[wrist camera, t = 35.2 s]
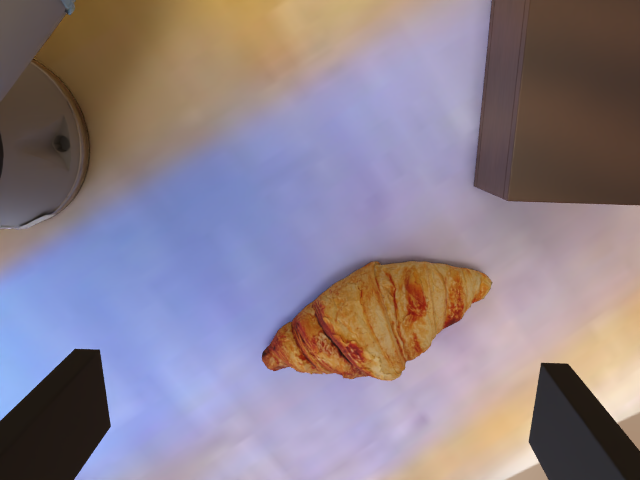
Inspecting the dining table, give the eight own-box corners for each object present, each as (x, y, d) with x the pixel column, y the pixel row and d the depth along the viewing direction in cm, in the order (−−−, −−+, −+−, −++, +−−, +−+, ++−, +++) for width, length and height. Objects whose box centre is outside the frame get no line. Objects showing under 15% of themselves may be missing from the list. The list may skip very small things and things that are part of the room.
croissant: (463, 236, 47) (471, 212, 39) (510, 337, 44) (528, 332, 36) (261, 315, 49) (231, 307, 41) (293, 416, 46) (267, 427, 38)
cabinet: (494, -27, 38) (538, -72, 30) (673, -24, 38) (770, -69, 29) (473, 186, 42) (507, 200, 34) (636, 191, 42) (713, 207, 33)
